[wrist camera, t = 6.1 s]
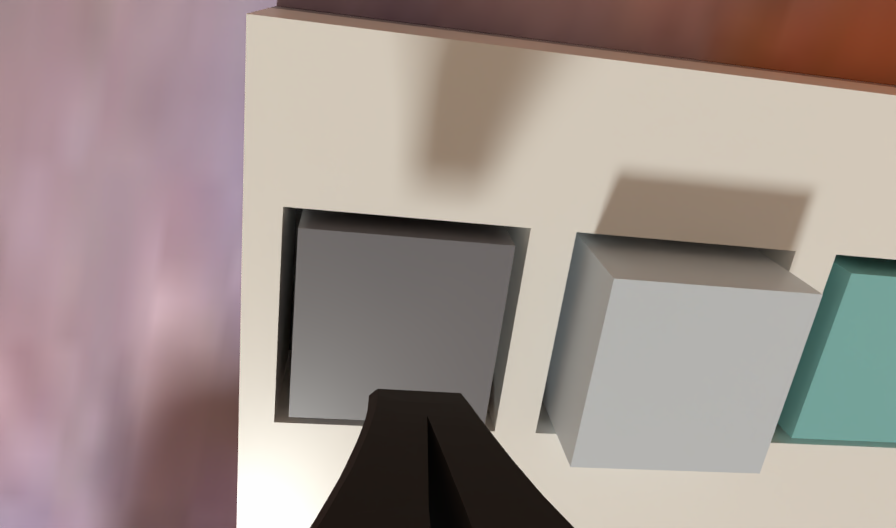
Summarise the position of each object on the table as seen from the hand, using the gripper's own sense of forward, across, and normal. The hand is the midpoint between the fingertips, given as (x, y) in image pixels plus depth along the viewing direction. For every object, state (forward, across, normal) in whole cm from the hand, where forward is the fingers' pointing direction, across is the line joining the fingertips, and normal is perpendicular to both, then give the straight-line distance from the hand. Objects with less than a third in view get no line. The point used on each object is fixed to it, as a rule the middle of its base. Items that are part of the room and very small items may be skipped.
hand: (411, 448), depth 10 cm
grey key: (+6, -5, 0) cm, 8 cm away
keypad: (+8, -5, 0) cm, 9 cm away
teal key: (+7, -11, 0) cm, 13 cm away
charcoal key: (+7, 0, 0) cm, 7 cm away
